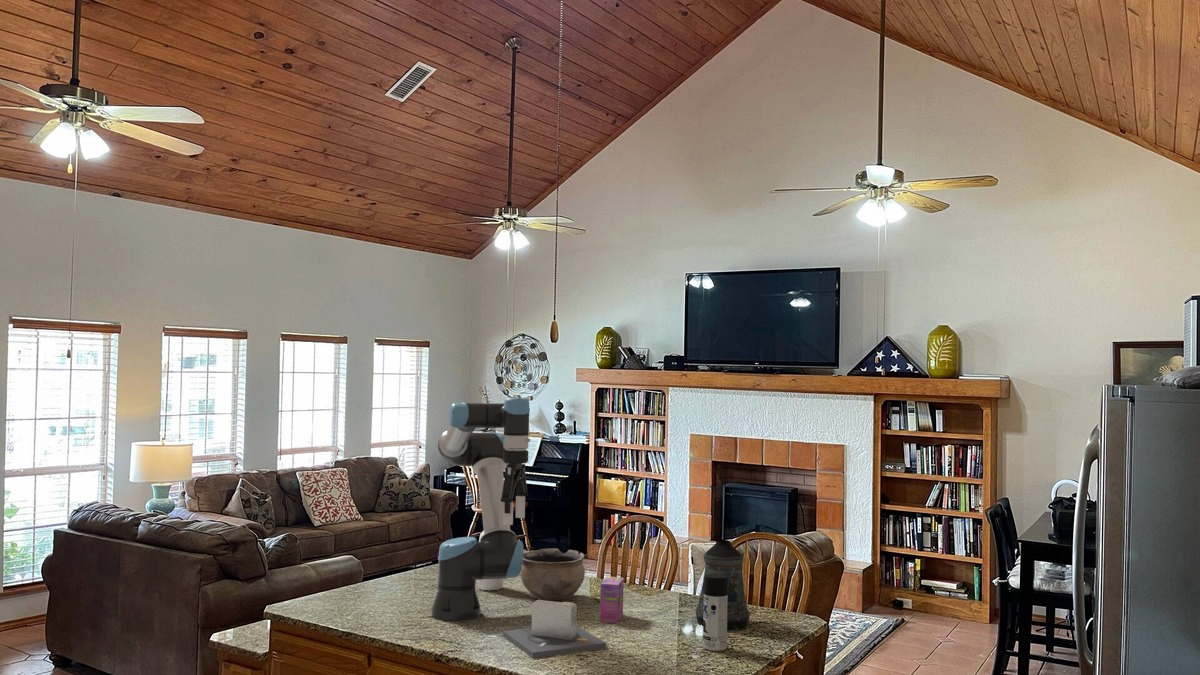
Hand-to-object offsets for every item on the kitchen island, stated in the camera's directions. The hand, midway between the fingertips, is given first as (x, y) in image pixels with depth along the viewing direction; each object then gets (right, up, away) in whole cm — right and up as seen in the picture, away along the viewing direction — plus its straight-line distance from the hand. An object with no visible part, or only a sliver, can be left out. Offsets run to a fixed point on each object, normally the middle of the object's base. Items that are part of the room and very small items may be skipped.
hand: (514, 521), depth 264 cm
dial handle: (+13, -30, -14) cm, 35 cm away
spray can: (+58, -32, -17) cm, 68 cm away
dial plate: (+12, -31, -14) cm, 36 cm away
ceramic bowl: (+9, -34, +36) cm, 50 cm away
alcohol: (-13, -34, +49) cm, 61 cm away
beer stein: (+63, -34, +10) cm, 72 cm away
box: (+29, -33, +12) cm, 46 cm away
